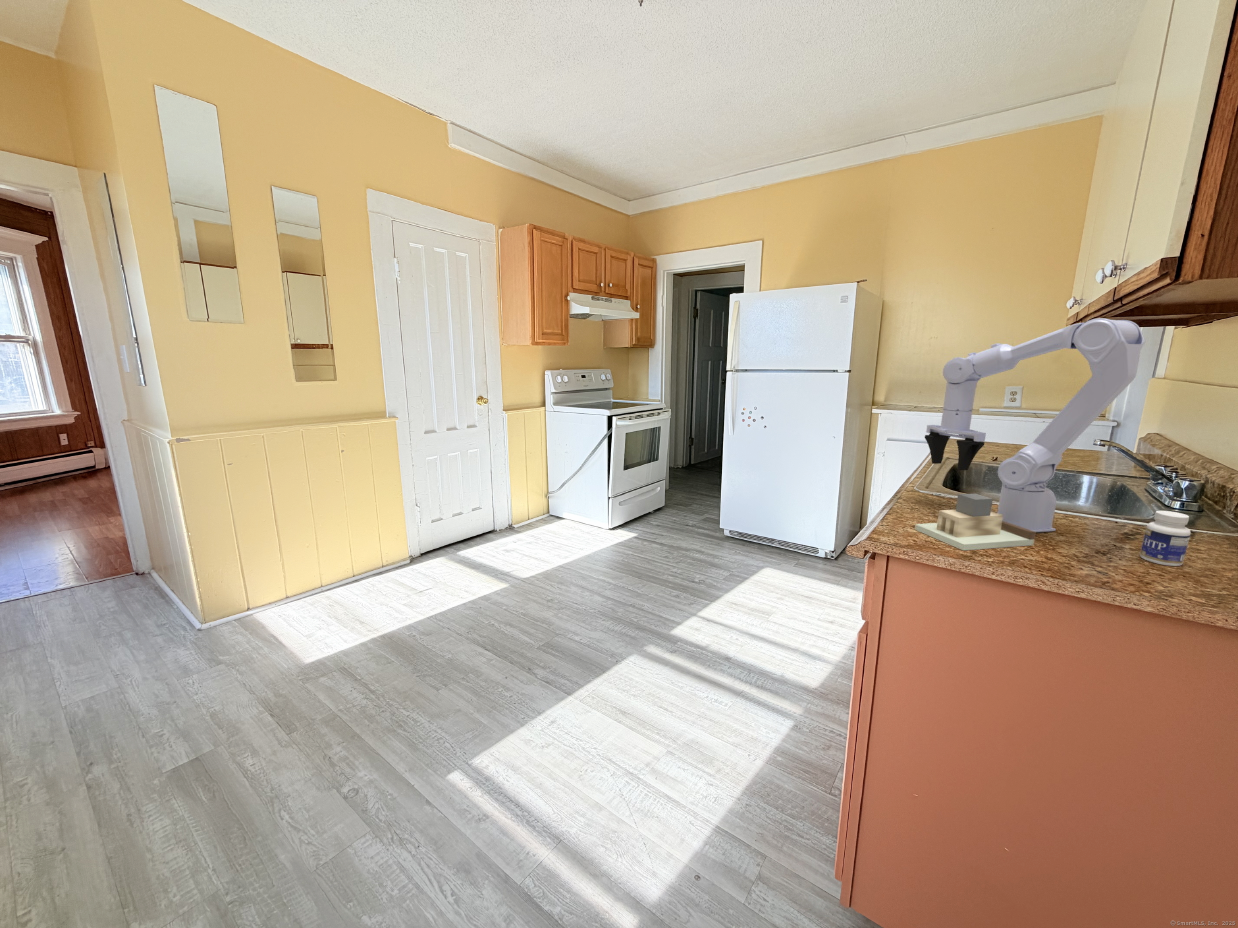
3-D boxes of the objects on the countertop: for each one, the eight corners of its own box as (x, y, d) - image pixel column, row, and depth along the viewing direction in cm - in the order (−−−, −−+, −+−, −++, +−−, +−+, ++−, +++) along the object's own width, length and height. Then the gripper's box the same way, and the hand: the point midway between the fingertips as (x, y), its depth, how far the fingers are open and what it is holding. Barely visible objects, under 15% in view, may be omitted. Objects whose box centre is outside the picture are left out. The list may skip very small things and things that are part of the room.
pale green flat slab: (978, 525, 107) (980, 513, 106) (1033, 545, 95) (1035, 531, 95) (914, 529, 104) (916, 517, 104) (963, 550, 93) (965, 536, 92)
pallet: (977, 526, 103) (980, 507, 102) (999, 534, 98) (1003, 515, 97) (936, 528, 101) (939, 510, 100) (956, 537, 96) (959, 517, 95)
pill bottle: (1130, 554, 91) (1141, 509, 89) (1160, 555, 90) (1171, 509, 89) (1161, 566, 85) (1172, 518, 84) (1192, 566, 85) (1204, 518, 83)
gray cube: (972, 509, 100) (975, 493, 100) (990, 515, 97) (992, 498, 96) (955, 510, 100) (958, 494, 99) (972, 516, 96) (975, 499, 95)
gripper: (918, 407, 121) (911, 461, 124) (970, 413, 107) (960, 473, 110) (943, 407, 122) (936, 460, 125) (997, 413, 108) (987, 472, 111)
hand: (949, 466), depth 117 cm, fingers open, 7 cm apart
